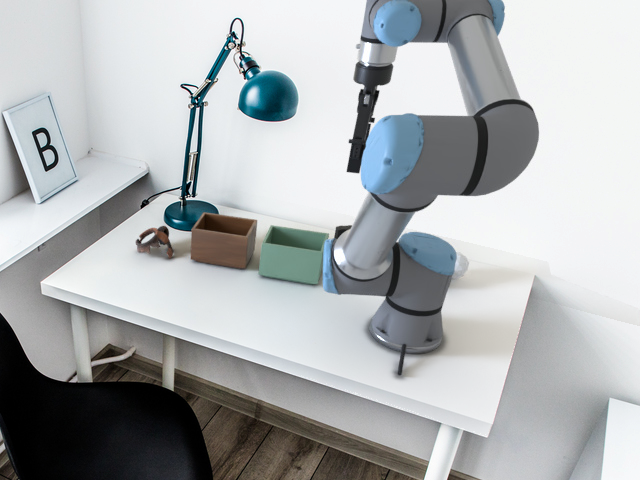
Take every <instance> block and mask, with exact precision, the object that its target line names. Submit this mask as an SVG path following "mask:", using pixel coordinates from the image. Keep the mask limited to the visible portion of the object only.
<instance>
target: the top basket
mask: <svg viewBox="0 0 640 480" xmlns="http://www.w3.org/2000/svg"><path fill="white" fill-rule="evenodd" d="M329 237H330V233H328V232H321V231H314V230H308V229H307V230H306V229H301V228H295V227H294V228H293V227H286V226H279V225H272V224H271V225H270V226H269V228H268V230H267V232H266V234H265V235H264V238H263V240H262V243H261V248H260V257H259V266H258V275H259V276H262V277H264V278H270V279H276V280H282V281H288V282H294V283H300V284H306V285H311V286H314V285H318V284H319V281H320V278H321V274H322V273H323V254H324V243H325V241H326V240H327V239H330V238H329Z"/></svg>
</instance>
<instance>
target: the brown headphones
mask: <svg viewBox="0 0 640 480" xmlns="http://www.w3.org/2000/svg"><path fill="white" fill-rule="evenodd" d="M153 233H154V235H153V236H152V237H151V238H150V239H149V240H147V241H144V239H145V238H146V237H148V236H150V235H152V234H153ZM142 241H144V242H143V243H142ZM135 245H136V251H137V252H138V253H139V254H143V253H147V254H151V248H156V249H159V248H161V247H162V246H166V247H167V251H166V255H167V257H168V259H171V258H172V257H173V256H174V249H173V246H172V244H171V241H170V229H169V228H168V227H167V226H166V225H161V226H159V227H158V228H157V227H150V228H148V229H146V230H144V231H142V233H140V234H139V235H138V238H136V239H135Z"/></svg>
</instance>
